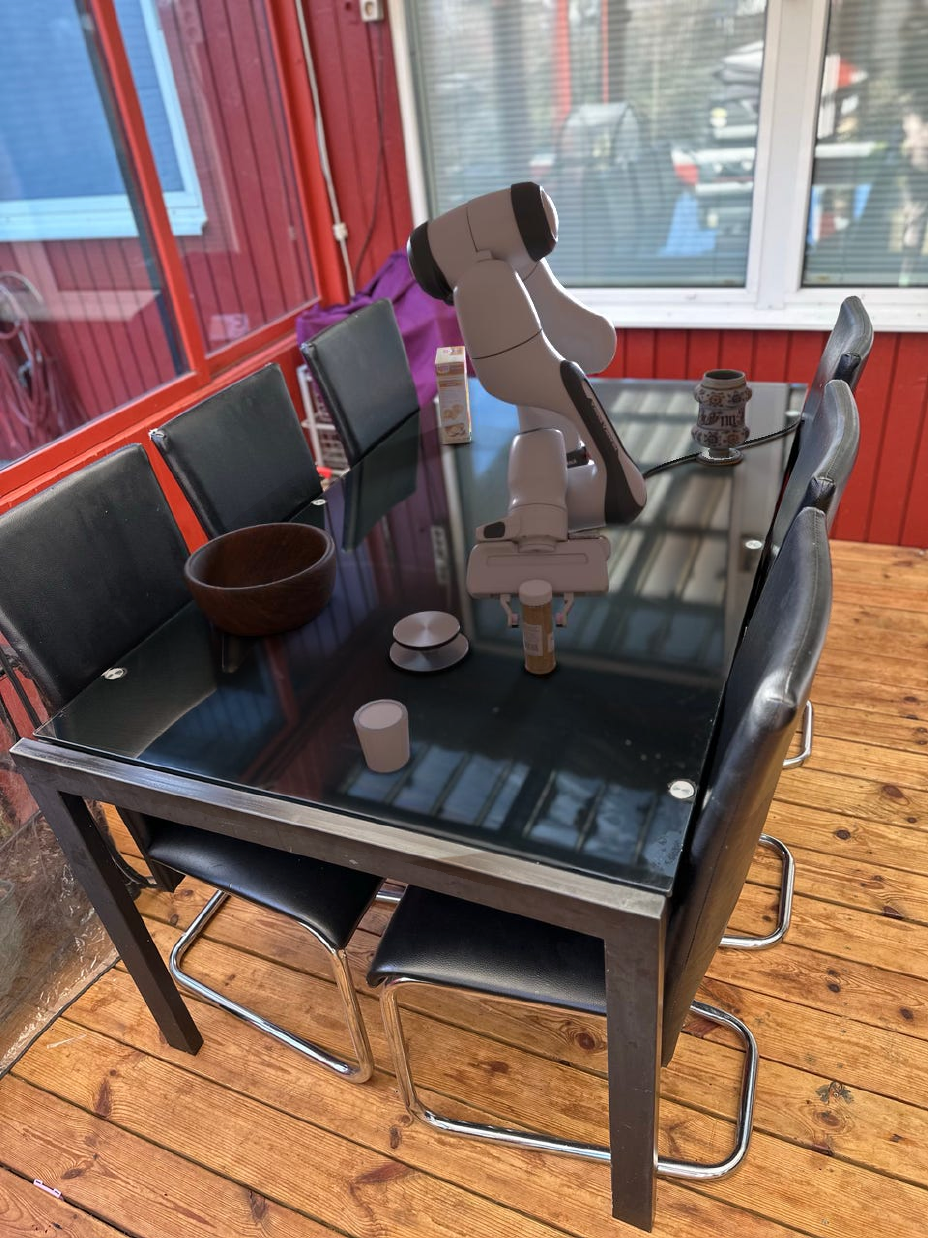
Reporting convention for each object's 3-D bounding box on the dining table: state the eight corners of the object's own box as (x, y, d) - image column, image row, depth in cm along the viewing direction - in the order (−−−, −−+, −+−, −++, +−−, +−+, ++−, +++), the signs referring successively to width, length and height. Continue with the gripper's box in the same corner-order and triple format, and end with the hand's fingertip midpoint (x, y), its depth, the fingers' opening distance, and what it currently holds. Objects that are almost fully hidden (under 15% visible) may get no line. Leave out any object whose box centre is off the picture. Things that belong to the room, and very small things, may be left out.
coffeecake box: (471, 442, 213) (464, 361, 203) (442, 444, 213) (433, 363, 203) (472, 422, 226) (465, 344, 216) (444, 424, 226) (436, 347, 216)
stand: (460, 626, 141) (458, 602, 138) (475, 666, 131) (473, 641, 128) (386, 639, 139) (382, 615, 137) (395, 681, 129) (391, 656, 127)
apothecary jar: (755, 451, 192) (762, 368, 183) (737, 470, 183) (743, 384, 174) (701, 444, 198) (705, 364, 189) (681, 463, 190) (684, 380, 180)
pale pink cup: (362, 744, 117) (353, 702, 114) (413, 738, 117) (406, 695, 114) (360, 779, 111) (352, 735, 108) (415, 772, 111) (408, 728, 108)
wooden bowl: (275, 661, 137) (261, 603, 132) (166, 627, 149) (150, 573, 144) (373, 588, 154) (364, 534, 149) (268, 562, 167) (257, 513, 162)
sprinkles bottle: (562, 667, 128) (558, 586, 121) (536, 679, 126) (531, 597, 119) (542, 654, 132) (538, 575, 125) (518, 665, 130) (512, 585, 123)
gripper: (610, 538, 129) (611, 630, 126) (471, 542, 133) (469, 632, 129) (610, 524, 123) (612, 620, 120) (465, 528, 127) (463, 622, 123)
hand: (537, 627), depth 125 cm, fingers open, 5 cm apart
